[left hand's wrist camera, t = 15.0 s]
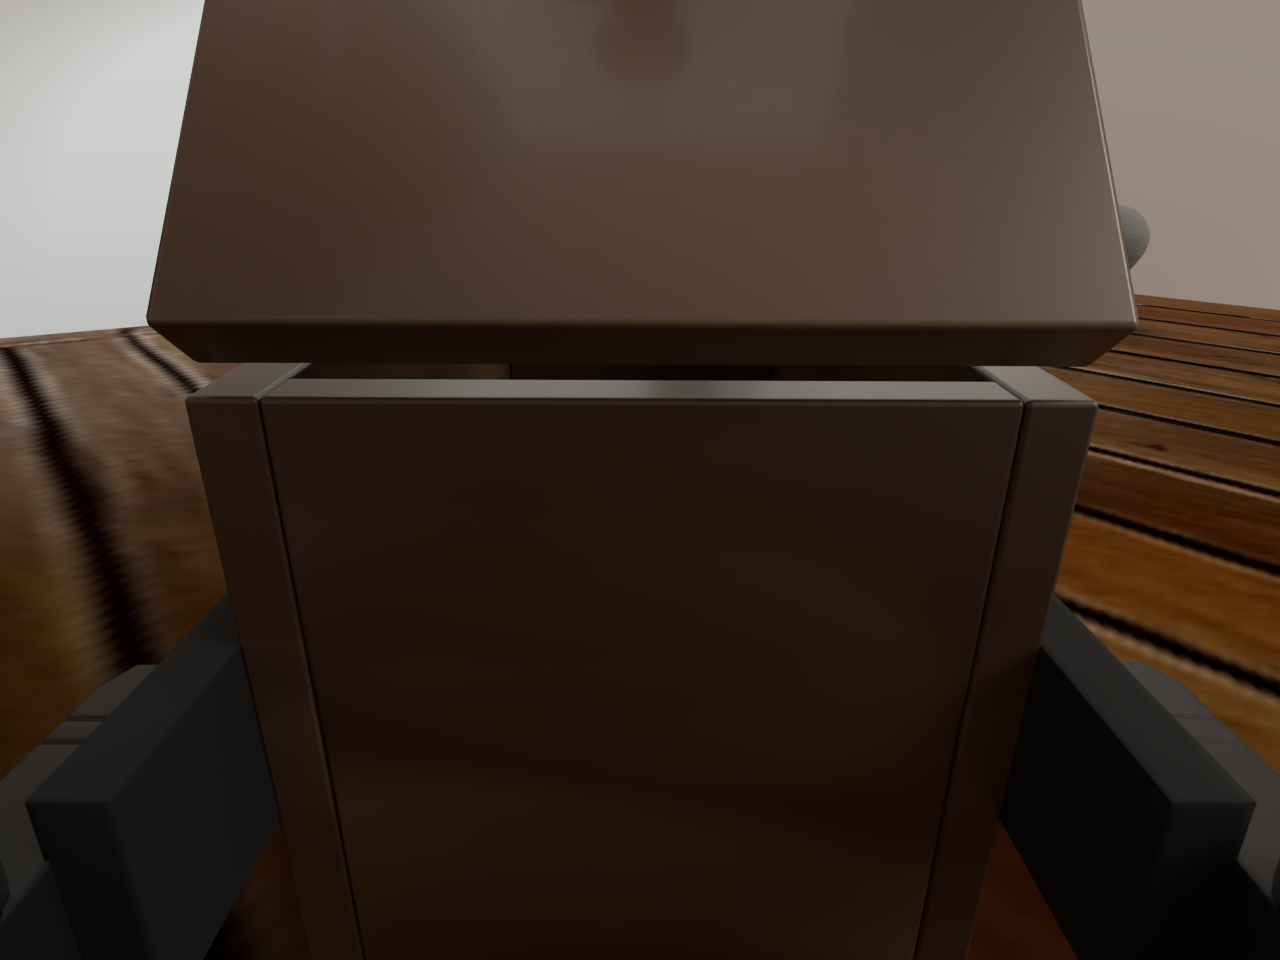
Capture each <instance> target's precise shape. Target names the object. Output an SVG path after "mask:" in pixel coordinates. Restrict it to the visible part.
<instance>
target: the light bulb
mask: <svg viewBox="0 0 1280 960" xmlns="http://www.w3.org/2000/svg"><path fill="white" fill-rule="evenodd" d="M1118 208H1119V214H1120V219H1121V225H1122V230H1123V236H1124V241H1125V247H1126V253H1127V258H1128V264H1129V269H1130V270H1131V268H1132V267H1133V266H1134V265H1135V264H1136V263H1137V261H1138V260H1139V259H1140V258H1141V257H1142V255H1143V254H1144V252H1145V250H1146V248H1147V246H1148V243H1149V239H1150V232H1149V228H1148V225H1147V222H1146V221H1145V219H1144V218H1143V216H1142V215H1141V214H1140V213H1139V212H1138V211H1136V210H1134V209H1132V208H1130V207H1127V206H1123V205H1118Z"/></svg>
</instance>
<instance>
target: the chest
mask: <svg viewBox="0 0 1280 960" xmlns="http://www.w3.org/2000/svg"><path fill="white" fill-rule="evenodd" d="M185 404H186V409H187V413H188V417H189V422H190V426H191V431H192V435H193V439H194V444H195V448H196V453H197V457H198V461H199V466H200V470H201V475H202V479H203V483H204V488H205V492H206V497H207V501H208V505H209V510H210V514H211V519H212V523H213V527H214V532H215V536H216V541H217V545H218V549H219V554H220V558H221V563H222V567H223V571H224V576H225V580H226V585H227V589H228V593H229V598H230V602H231V607H232V611H233V615H234V620H235V624H236V629H237V633H238V637H239V642H240V646H241V651H242V655H243V659H244V664H245V668H246V673H247V677H248V681H249V686H250V690H251V694H252V699H253V703H254V707H255V712H256V716H257V720H258V725H259V729H260V733H261V738H262V742H263V746H264V751H265V755H266V759H267V764H268V768H269V772H270V776H271V781H272V785H273V789H274V794H275V798H276V802H277V807H278V811H279V815H280V822H281V827H282V831H283V836H284V840H285V844H286V849H287V853H288V858H289V862H290V866H291V871H292V875H293V880H294V884H295V888H296V893H297V897H298V902H299V906H300V910H301V915H302V919H303V924H304V928H305V932H306V937H307V941H308V946H309V950H310V954H311V959H312V960H966V959H967V955H968V951H969V947H970V942H971V938H972V934H973V930H974V926H975V921H976V917H977V913H978V909H979V905H980V900H981V896H982V892H983V888H984V884H985V880H986V875H987V871H988V867H989V863H990V859H991V854H992V850H993V846H994V842H995V838H996V833H997V829H998V825H999V821H1000V817H1001V813H1002V808H1003V804H1004V800H1005V796H1006V792H1007V787H1008V783H1009V779H1010V775H1011V771H1012V766H1013V762H1014V758H1015V754H1016V750H1017V746H1018V741H1019V737H1020V733H1021V728H1022V724H1023V720H1024V716H1025V711H1026V707H1027V703H1028V699H1029V694H1030V690H1031V686H1032V682H1033V677H1034V673H1035V669H1036V664H1037V660H1038V656H1039V652H1040V647H1041V645H1042V641H1043V637H1044V633H1045V628H1046V624H1047V620H1048V616H1049V612H1050V607H1051V603H1052V599H1053V595H1054V591H1055V586H1056V582H1057V578H1058V574H1059V570H1060V566H1061V561H1062V557H1063V553H1064V549H1065V545H1066V540H1067V536H1068V532H1069V528H1070V524H1071V519H1072V515H1073V511H1074V507H1075V503H1076V499H1077V494H1078V490H1079V486H1080V482H1081V478H1082V473H1083V469H1084V465H1085V461H1086V457H1087V452H1088V448H1089V444H1090V440H1091V436H1092V432H1093V427H1094V423H1095V419H1096V415H1097V411H1098V403H1097V401H1095V400H1093V399H1092V398H1090V397H1088V396H1087V395H1085V394H1083V393H1082V392H1080V391H1078V390H1076V389H1075V388H1073V387H1071V386H1070V385H1068V384H1066V383H1065V382H1063V381H1061V380H1060V379H1058V378H1056V377H1055V376H1053V375H1051V374H1049V373H1048V372H1046V371H1044V370H1043V369H1041V368H1039V367H1038V366H835V365H610V364H386V363H245V364H243V365H241V366H239V367H238V368H236V369H234V370H233V371H231V372H229V373H228V374H226V375H224V376H222V377H221V378H219V379H217V380H216V381H214V382H212V383H210V384H209V385H207V386H205V387H204V388H202V389H200V390H199V391H197V392H195V393H193V394H192V395H190V396H188V397H187V398H186V402H185Z"/></svg>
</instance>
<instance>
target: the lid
mask: <svg viewBox="0 0 1280 960" xmlns="http://www.w3.org/2000/svg"><path fill="white" fill-rule="evenodd" d="M146 318H147V323H148V325H149V326H150V327H151V328H153V329H154V330H155V331H156V332H158V333H159V334H160V335H162V336H163V337H164V338H165V339H167V340H168V341H169V342H170V343H172V344H173V345H174V346H176V347H177V348H178V349H179V350H181V351H182V352H183V353H185V354H186V355H187V356H188V357H190V358H191V359H192V360H194V361H196V362H199V363H386V364H610V365H835V366H1059V367H1085V366H1088V365H1090V364H1092V363H1093V362H1095V361H1096V360H1097V359H1099V358H1100V357H1101V356H1103V355H1104V354H1105V353H1107V352H1108V351H1109V350H1110V349H1112V348H1113V347H1114V346H1116V345H1117V344H1118V343H1120V342H1121V341H1122V340H1124V339H1125V338H1126V337H1128V336H1129V335H1130V334H1132V333H1133V332H1134V331H1136V329H1137V327H1138V323H1139V320H1138V314H1137V309H1136V303H1135V297H1134V292H1133V286H1132V281H1131V275H1130V269H1129V264H1128V258H1127V253H1126V247H1125V241H1124V236H1123V230H1122V225H1121V219H1120V214H1119V208H1118V202H1117V197H1116V191H1115V186H1114V180H1113V175H1112V169H1111V163H1110V158H1109V152H1108V146H1107V141H1106V135H1105V130H1104V124H1103V119H1102V113H1101V108H1100V102H1099V96H1098V91H1097V85H1096V79H1095V74H1094V68H1093V63H1092V57H1091V52H1090V46H1089V40H1088V35H1087V29H1086V24H1085V18H1084V12H1083V7H1082V1H1081V0H205V3H204V8H203V14H202V19H201V25H200V30H199V35H198V41H197V46H196V52H195V57H194V62H193V68H192V73H191V78H190V84H189V89H188V95H187V100H186V105H185V111H184V116H183V121H182V127H181V132H180V138H179V143H178V149H177V154H176V159H175V165H174V170H173V176H172V181H171V186H170V192H169V197H168V202H167V208H166V213H165V218H164V224H163V229H162V235H161V240H160V245H159V251H158V256H157V262H156V267H155V272H154V278H153V283H152V289H151V294H150V299H149V305H148V310H147V315H146Z"/></svg>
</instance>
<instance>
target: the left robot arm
mask: <svg viewBox="0 0 1280 960" xmlns="http://www.w3.org/2000/svg"><path fill="white" fill-rule="evenodd" d="M1213 715H1214V713H1213V712H1212V711H1211V710H1210V709H1209V708H1208V707H1207V706H1205V705H1204V704H1203V703H1202V702H1201V701H1200V700H1199V699H1198V698H1197V697H1196V696H1195V695H1194V694H1193V693H1192V692H1191V691H1190V690H1189V689H1188V688H1186V687H1185V686H1184V685H1182V684H1181V683H1179V682H1177V681H1176V680H1174V679H1172V678H1170V677H1169V676H1167V675H1165V674H1164V673H1162V672H1160V671H1158V670H1157V669H1155V668H1153V667H1151V666H1150V665H1148V664H1146V663H1145V662H1120V661H1119V660H1118V659H1117V658H1116V657H1115V656H1114V655H1113V654H1112V653H1111V652H1110V651H1109V650H1108V649H1107V648H1106V647H1105V646H1104V645H1103V644H1102V643H1101V642H1100V641H1099V640H1098V639H1097V638H1096V636H1095V635H1094V634H1093V633H1092V632H1091V631H1090V630H1089V629H1088V628H1087V627H1086V626H1085V625H1084V624H1083V623H1082V622H1081V621H1080V620H1079V619H1078V618H1077V617H1076V616H1075V615H1074V614H1073V613H1072V612H1071V611H1070V610H1069V609H1068V608H1067V607H1066V606H1065V605H1064V604H1063V603H1062V602H1061V601H1060V599H1059V598H1058V597H1057V596H1056V595H1055V594H1054V595H1053V599H1052V603H1051V607H1050V612H1049V616H1048V620H1047V624H1046V628H1045V633H1044V637H1043V641H1042V645H1041V647H1040V652H1039V656H1038V660H1037V664H1036V669H1035V673H1034V677H1033V682H1032V686H1031V690H1030V694H1029V699H1028V703H1027V707H1026V711H1025V716H1024V720H1023V724H1022V728H1021V733H1020V737H1019V741H1018V746H1017V750H1016V754H1015V758H1014V762H1013V766H1012V771H1011V775H1010V779H1009V783H1008V787H1007V792H1006V796H1005V800H1004V804H1003V808H1002V813H1001V817H1000V820H1001V822H1002V823H1003V825H1004V827H1005V829H1006V831H1007V832H1008V834H1009V836H1010V838H1011V840H1012V841H1013V843H1014V845H1015V847H1016V849H1017V851H1018V852H1019V854H1020V856H1021V858H1022V860H1023V861H1024V863H1025V865H1026V867H1027V869H1028V870H1029V872H1030V874H1031V876H1032V878H1033V879H1034V881H1035V883H1036V885H1037V887H1038V888H1039V890H1040V892H1041V894H1042V896H1043V898H1044V899H1045V901H1046V903H1047V905H1048V907H1049V908H1050V910H1051V912H1052V914H1053V916H1054V917H1055V919H1056V921H1057V923H1058V925H1059V926H1060V928H1061V930H1062V932H1063V934H1064V936H1065V937H1066V939H1067V941H1068V943H1069V945H1070V946H1071V948H1072V950H1073V952H1074V954H1075V955H1076V957H1077V959H1078V960H1280V776H1279V775H1278V774H1277V773H1276V772H1275V771H1274V770H1273V769H1272V768H1271V767H1270V766H1269V765H1268V764H1267V763H1265V762H1264V761H1263V760H1262V759H1261V758H1260V757H1259V756H1258V755H1257V754H1256V753H1255V752H1254V751H1253V750H1252V749H1251V748H1250V747H1249V746H1248V745H1247V744H1245V743H1244V742H1239V741H1238V736H1237V735H1236V734H1235V733H1234V732H1233V731H1232V730H1231V729H1230V728H1229V727H1228V726H1227V725H1225V724H1224V723H1223V722H1222V721H1221V720H1220V719H1215V718H1214V716H1213ZM279 821H280V815H279V811H278V807H277V802H276V798H275V794H274V789H273V785H272V781H271V776H270V772H269V768H268V764H267V759H266V755H265V751H264V746H263V742H262V738H261V733H260V729H259V725H258V720H257V716H256V712H255V707H254V703H253V699H252V694H251V690H250V686H249V681H248V677H247V673H246V668H245V664H244V659H243V655H242V651H241V646H240V642H239V637H238V633H237V629H236V624H235V620H234V615H233V611H232V607H231V602H230V598H229V593H227V594H226V595H225V596H224V597H223V598H222V599H221V600H220V601H219V602H218V603H217V604H216V605H215V607H214V608H213V609H212V610H211V611H210V612H209V613H208V614H207V615H206V616H205V617H204V618H203V619H202V620H201V621H200V622H199V623H198V624H197V625H196V626H195V627H194V628H193V629H192V630H191V631H190V632H189V633H188V634H187V635H186V636H185V637H184V638H183V639H182V640H181V641H180V643H179V644H178V645H177V646H176V647H175V648H174V649H173V650H172V651H171V652H170V653H169V654H168V655H167V656H166V657H165V658H164V659H163V660H162V661H161V662H160V663H159V664H158V665H136V666H135V667H133V668H131V669H130V670H128V671H126V672H124V673H123V674H121V675H119V676H117V677H116V678H114V679H112V680H111V681H109V682H107V683H105V684H104V685H102V686H100V687H99V688H97V689H96V690H95V691H94V692H93V693H92V694H91V695H90V696H89V697H88V698H87V699H85V700H84V701H83V702H82V703H81V704H80V705H79V706H78V707H77V708H76V709H75V710H74V711H73V712H72V713H71V714H70V715H69V716H68V721H62V722H61V723H60V724H59V725H58V726H57V727H56V728H55V729H54V730H53V731H52V732H51V733H50V734H49V735H48V736H47V737H46V738H45V739H44V744H43V745H37V746H36V747H35V748H34V749H33V750H32V751H31V752H30V753H29V754H28V755H27V756H26V757H25V758H24V759H23V760H22V761H21V762H20V763H19V764H18V765H16V766H15V767H14V768H13V769H12V770H11V771H10V772H9V773H8V774H7V775H6V776H5V777H4V778H3V779H2V780H1V781H0V960H203V959H204V957H205V955H206V953H207V951H208V950H209V948H210V946H211V944H212V942H213V941H214V939H215V937H216V935H217V933H218V932H219V930H220V928H221V926H222V924H223V922H224V921H225V919H226V917H227V915H228V913H229V912H230V910H231V908H232V906H233V904H234V903H235V901H236V899H237V897H238V895H239V894H240V892H241V890H242V888H243V886H244V884H245V883H246V881H247V879H248V877H249V875H250V874H251V872H252V870H253V868H254V866H255V865H256V863H257V861H258V859H259V857H260V856H261V854H262V852H263V850H264V848H265V846H266V845H267V843H268V841H269V839H270V837H271V836H272V834H273V832H274V830H275V828H276V827H277V825H278V823H279Z"/></svg>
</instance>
